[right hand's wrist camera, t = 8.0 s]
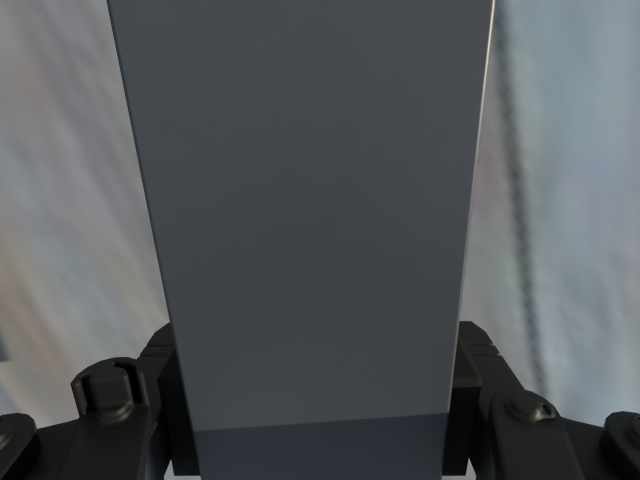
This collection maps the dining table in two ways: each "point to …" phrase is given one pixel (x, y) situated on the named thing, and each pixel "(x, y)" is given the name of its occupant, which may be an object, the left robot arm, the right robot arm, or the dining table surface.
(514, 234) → the dining table surface
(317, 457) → the beam
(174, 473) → the right robot arm
